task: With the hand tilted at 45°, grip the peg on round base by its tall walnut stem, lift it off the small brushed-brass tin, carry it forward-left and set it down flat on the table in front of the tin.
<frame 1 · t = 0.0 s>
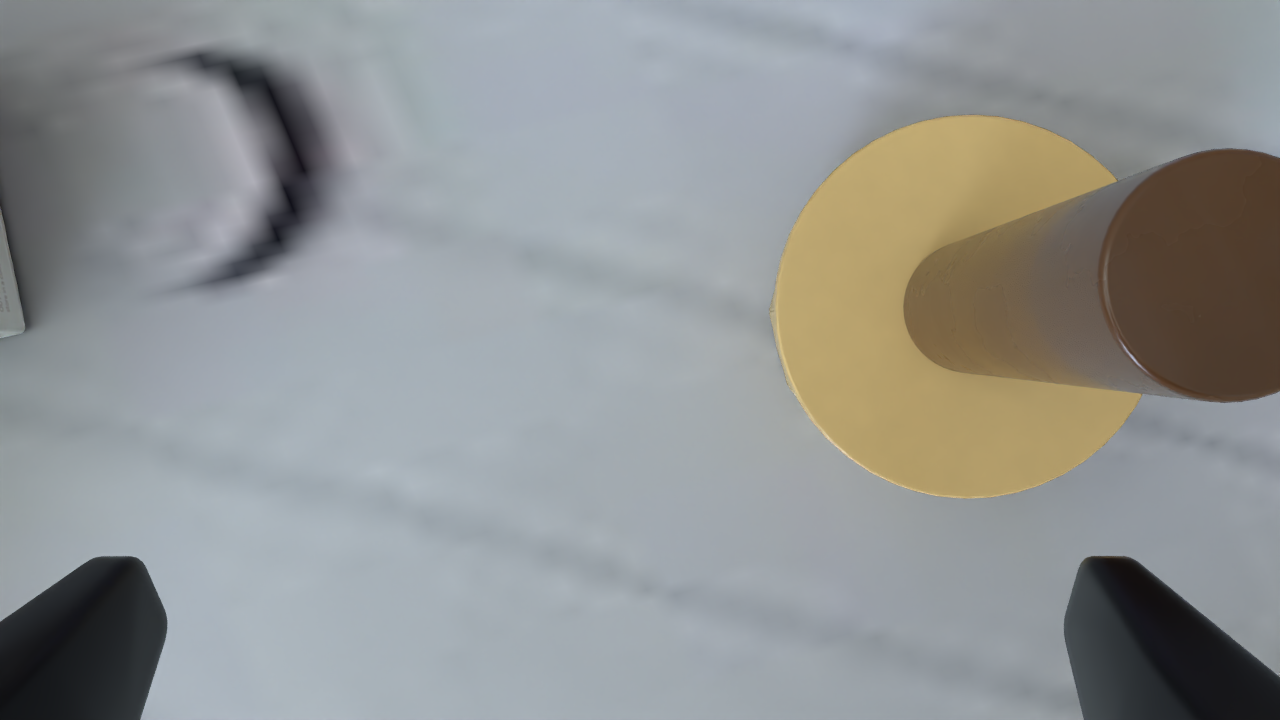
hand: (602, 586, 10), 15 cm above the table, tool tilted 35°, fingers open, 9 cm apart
peg on round base: (962, 308, 20), point 4 cm above the table, touching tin
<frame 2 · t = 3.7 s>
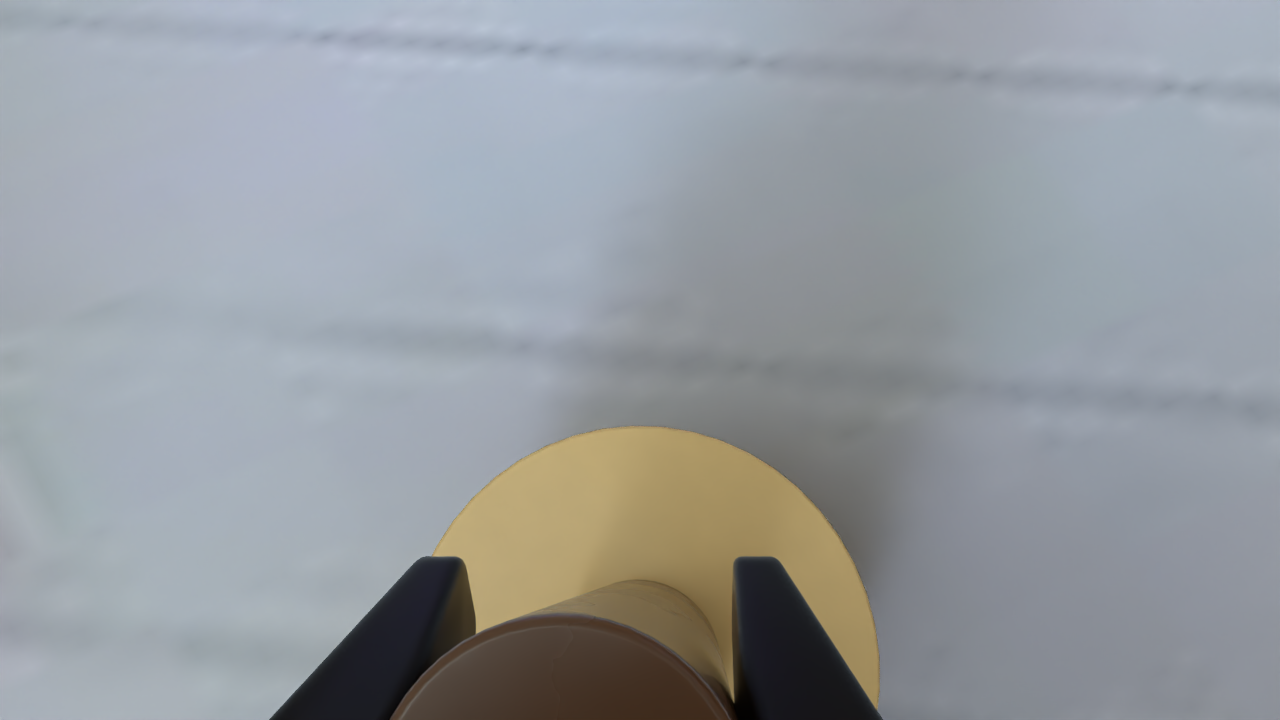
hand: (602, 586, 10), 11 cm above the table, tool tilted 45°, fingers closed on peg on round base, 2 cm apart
peg on round base: (640, 659, 16), point 4 cm above the table, touching gripper, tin
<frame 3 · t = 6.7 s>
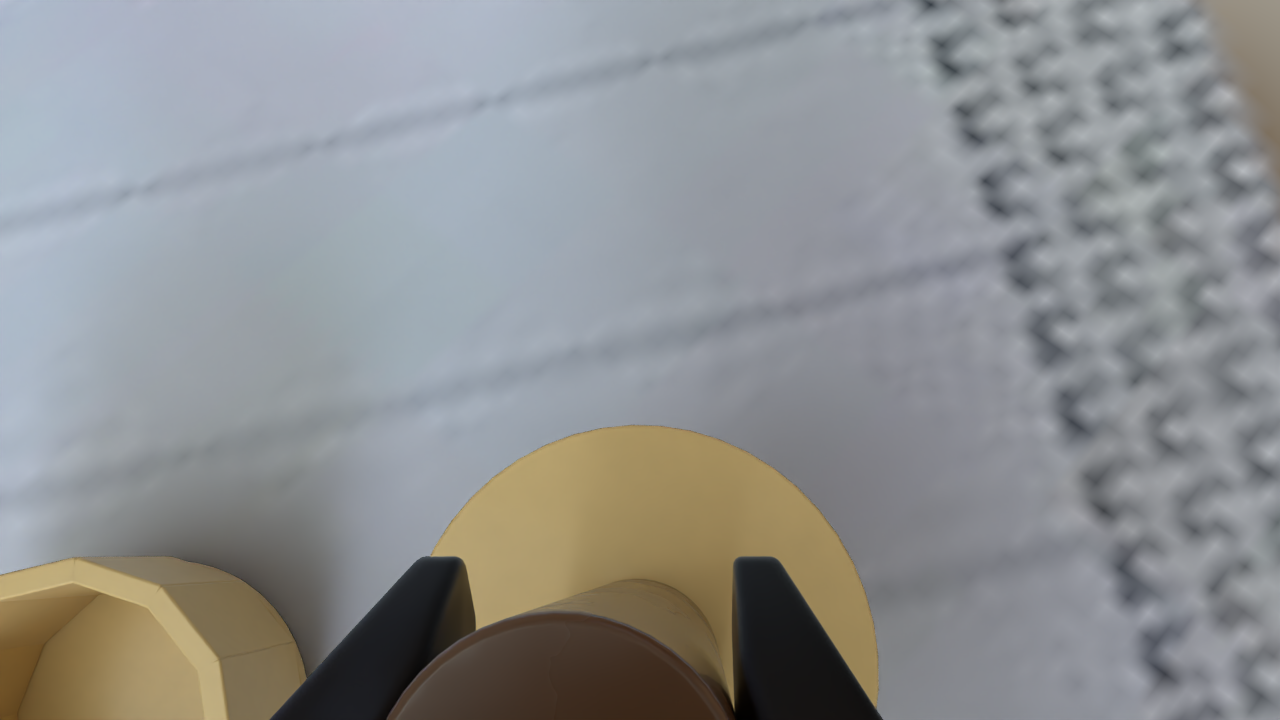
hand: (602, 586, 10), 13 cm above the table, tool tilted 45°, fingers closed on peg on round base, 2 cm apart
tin: (160, 716, 23), on the table
peg on round base: (639, 659, 16), point 6 cm above the table, touching gripper
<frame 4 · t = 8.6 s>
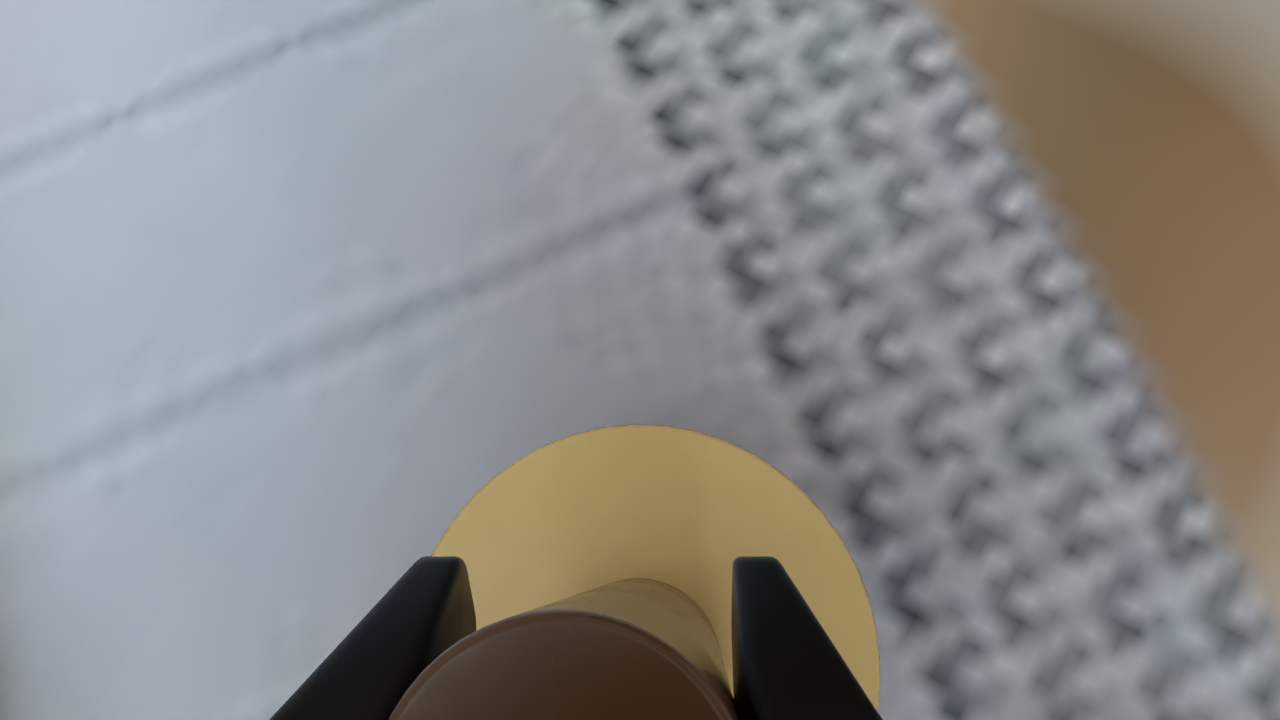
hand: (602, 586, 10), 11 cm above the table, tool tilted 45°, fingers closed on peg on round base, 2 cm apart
peg on round base: (640, 658, 16), point 4 cm above the table, touching gripper
when the fingers open (8 cm above the table, at t = 9.8 s): peg on round base stays where it is, point 1 cm above the table.
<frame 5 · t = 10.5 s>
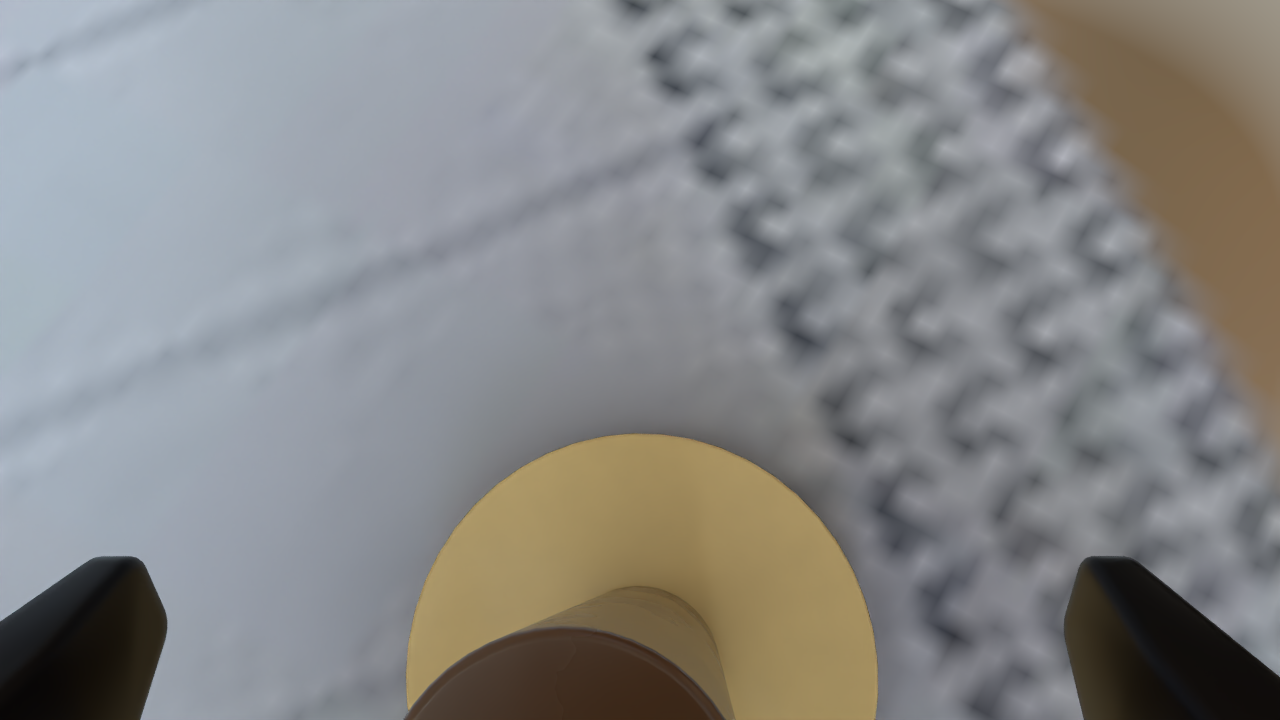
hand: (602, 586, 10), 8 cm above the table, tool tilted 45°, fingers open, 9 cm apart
peg on round base: (640, 665, 16), point 1 cm above the table
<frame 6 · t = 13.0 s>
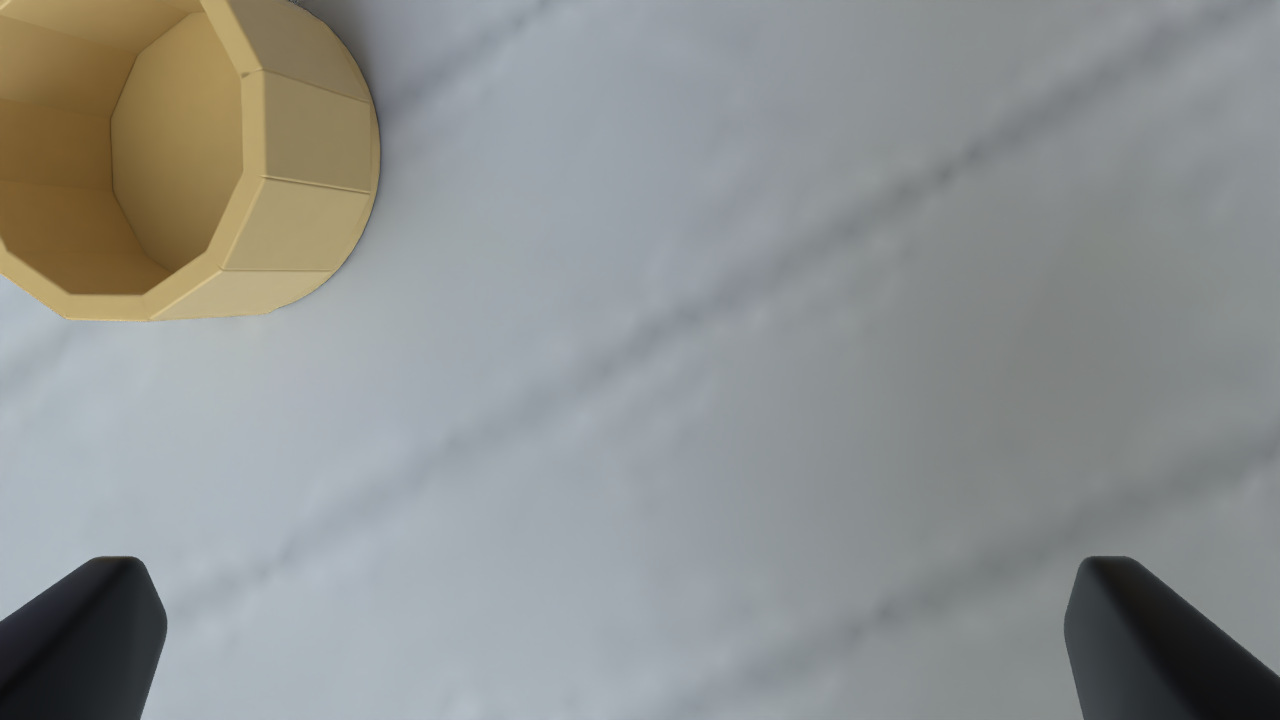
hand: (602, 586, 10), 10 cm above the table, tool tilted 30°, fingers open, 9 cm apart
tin: (239, 154, 22), on the table
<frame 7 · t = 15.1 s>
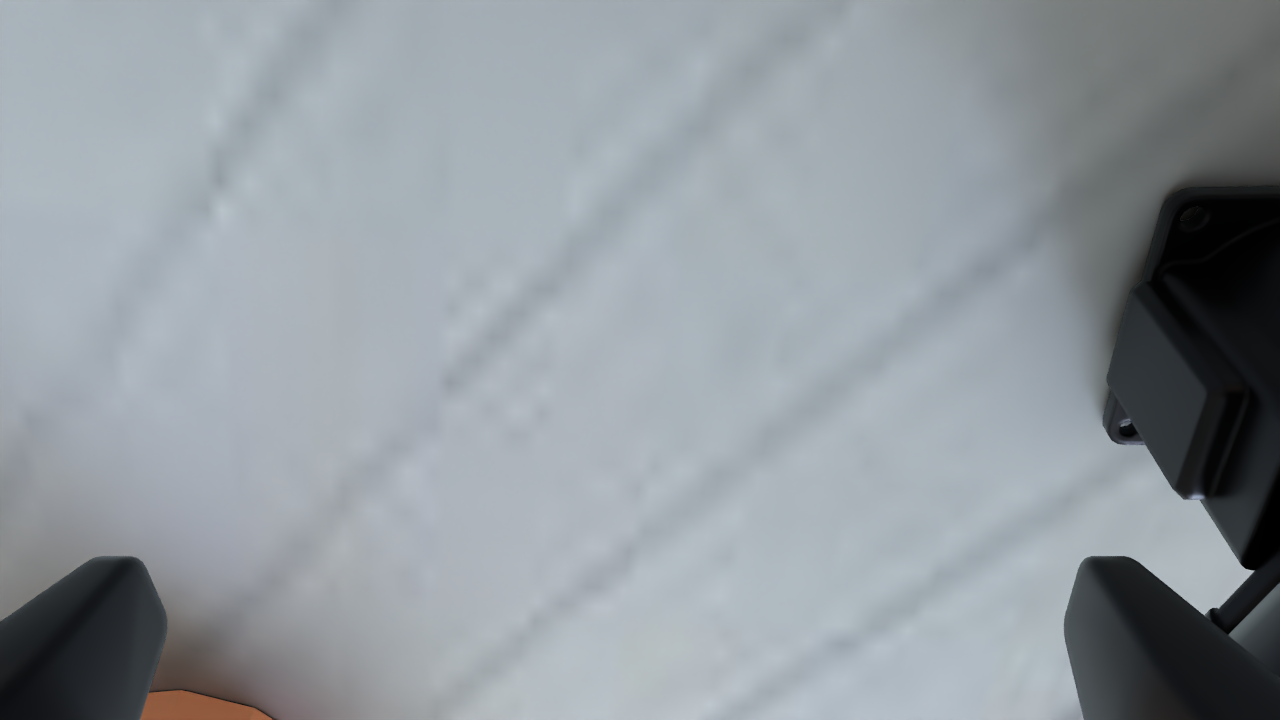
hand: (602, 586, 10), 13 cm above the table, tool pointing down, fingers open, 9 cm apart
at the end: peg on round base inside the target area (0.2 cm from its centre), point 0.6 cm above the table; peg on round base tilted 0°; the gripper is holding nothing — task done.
